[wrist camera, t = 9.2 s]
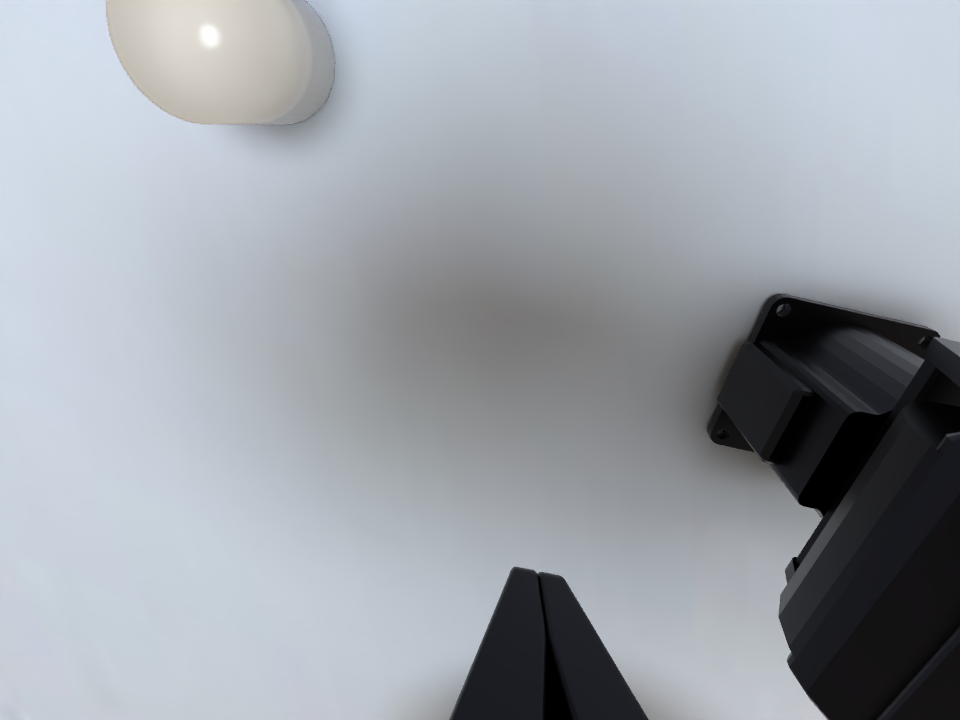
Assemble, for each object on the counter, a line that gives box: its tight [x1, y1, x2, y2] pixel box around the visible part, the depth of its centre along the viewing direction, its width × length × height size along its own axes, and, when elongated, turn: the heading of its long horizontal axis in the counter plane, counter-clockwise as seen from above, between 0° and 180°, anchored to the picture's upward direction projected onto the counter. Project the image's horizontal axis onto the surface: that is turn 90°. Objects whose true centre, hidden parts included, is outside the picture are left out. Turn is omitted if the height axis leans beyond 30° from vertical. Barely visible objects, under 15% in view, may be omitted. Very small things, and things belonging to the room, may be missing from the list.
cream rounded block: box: [106, 0, 335, 125], centre depth 15 cm, size 4×4×5 cm
